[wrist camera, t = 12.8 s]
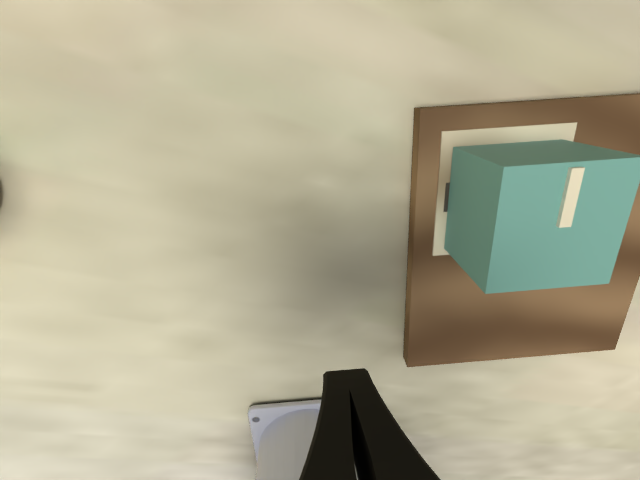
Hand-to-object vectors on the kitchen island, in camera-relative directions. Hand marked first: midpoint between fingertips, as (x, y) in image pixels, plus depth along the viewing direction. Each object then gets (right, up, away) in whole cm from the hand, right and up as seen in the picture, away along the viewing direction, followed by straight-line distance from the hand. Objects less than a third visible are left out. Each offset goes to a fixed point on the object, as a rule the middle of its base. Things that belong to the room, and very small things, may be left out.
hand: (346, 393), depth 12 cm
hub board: (+11, +5, +10) cm, 16 cm away
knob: (+9, +7, +8) cm, 14 cm away
